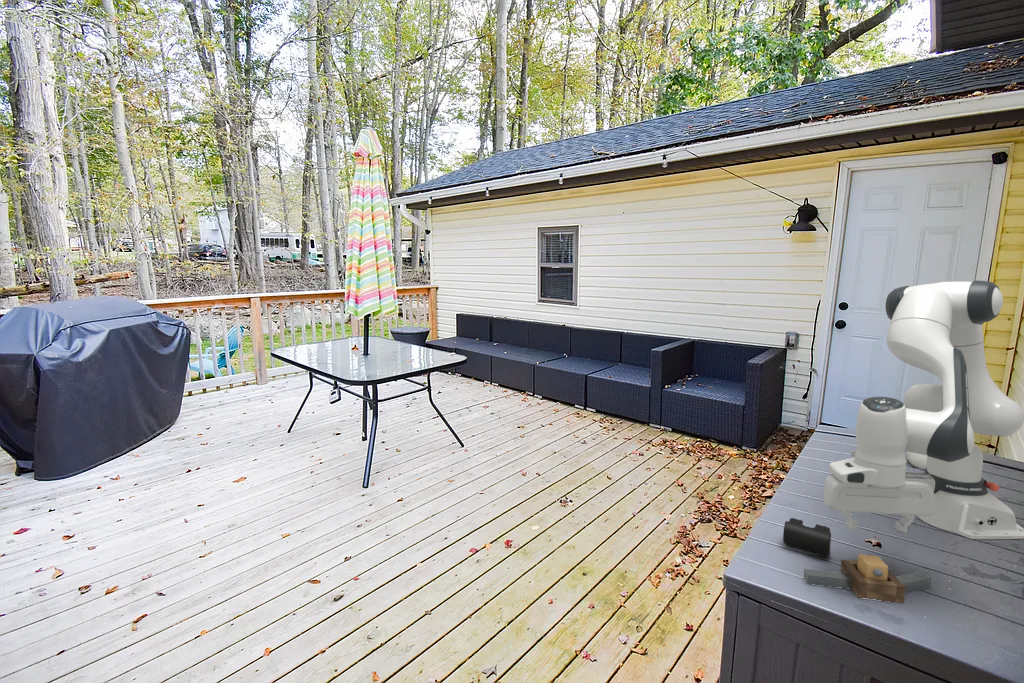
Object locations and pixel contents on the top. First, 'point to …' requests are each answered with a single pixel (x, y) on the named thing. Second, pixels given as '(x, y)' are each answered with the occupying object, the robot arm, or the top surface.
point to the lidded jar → (917, 459)
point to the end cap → (807, 537)
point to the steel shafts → (844, 580)
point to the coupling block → (872, 567)
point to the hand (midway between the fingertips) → (876, 529)
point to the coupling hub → (873, 584)
